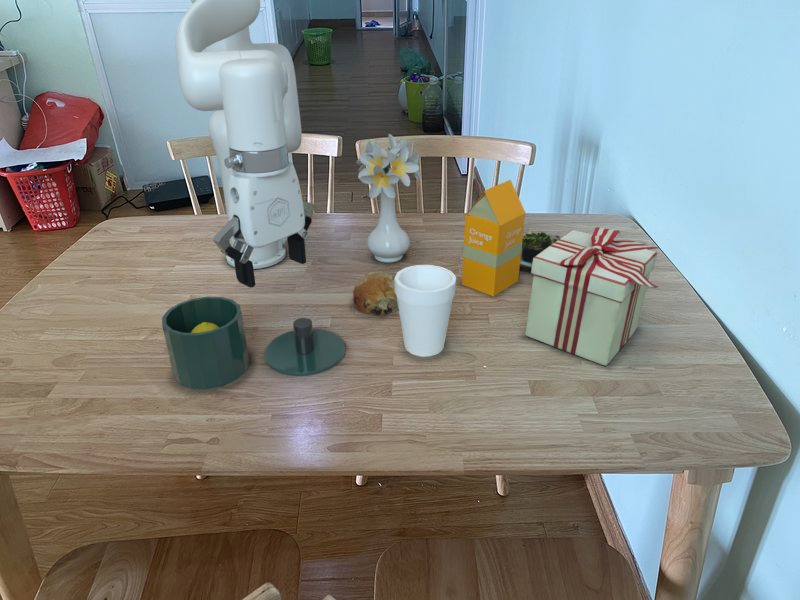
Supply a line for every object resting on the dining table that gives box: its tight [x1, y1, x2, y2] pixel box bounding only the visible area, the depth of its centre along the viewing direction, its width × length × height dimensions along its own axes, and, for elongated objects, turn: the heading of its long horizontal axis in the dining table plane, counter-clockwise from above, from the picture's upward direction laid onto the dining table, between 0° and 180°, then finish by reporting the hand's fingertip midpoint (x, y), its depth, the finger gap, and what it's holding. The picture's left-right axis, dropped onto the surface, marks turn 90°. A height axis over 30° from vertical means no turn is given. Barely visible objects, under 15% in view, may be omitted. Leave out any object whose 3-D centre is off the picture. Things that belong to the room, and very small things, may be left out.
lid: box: [264, 317, 346, 377], centre depth 96 cm, size 13×13×6 cm
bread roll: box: [352, 271, 399, 316], centre depth 111 cm, size 10×10×8 cm
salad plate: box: [519, 230, 564, 273], centre depth 130 cm, size 19×18×5 cm
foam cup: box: [394, 264, 457, 358], centre depth 96 cm, size 10×9×13 cm
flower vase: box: [355, 133, 422, 264], centre depth 123 cm, size 13×18×25 cm
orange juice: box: [461, 179, 526, 297], centre depth 114 cm, size 8×9×20 cm
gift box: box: [524, 226, 660, 367], centre depth 98 cm, size 17×18×17 cm
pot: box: [161, 296, 250, 390], centre depth 91 cm, size 11×11×10 cm
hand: (273, 272), depth 89 cm, fingers open, 9 cm apart
